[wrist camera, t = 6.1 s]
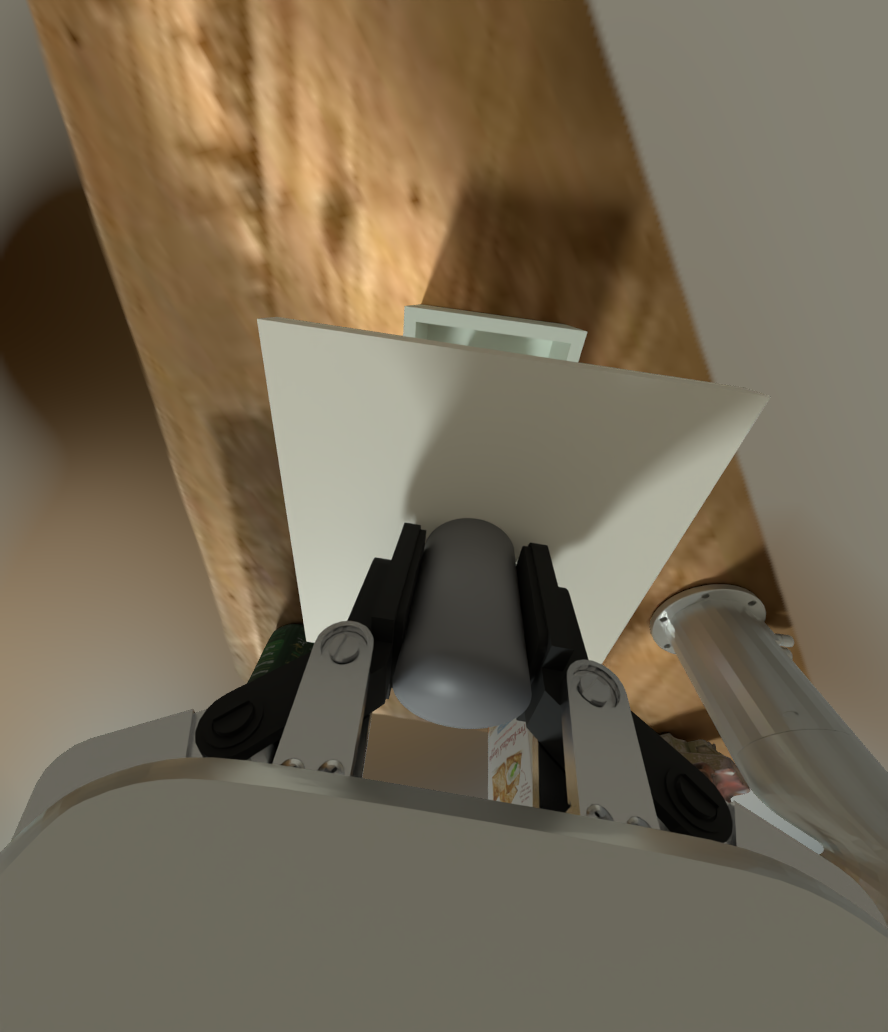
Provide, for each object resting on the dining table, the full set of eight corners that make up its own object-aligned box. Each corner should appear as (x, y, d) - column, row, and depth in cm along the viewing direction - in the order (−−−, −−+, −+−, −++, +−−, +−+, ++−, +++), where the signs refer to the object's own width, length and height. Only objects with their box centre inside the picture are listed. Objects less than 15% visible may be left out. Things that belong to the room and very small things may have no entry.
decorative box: (585, 731, 61) (601, 797, 53) (709, 707, 54) (749, 779, 46) (611, 763, 67) (629, 828, 58) (727, 745, 59) (766, 816, 51)
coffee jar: (266, 629, 54) (178, 764, 38) (302, 615, 51) (224, 754, 36) (307, 664, 58) (243, 798, 42) (342, 653, 55) (288, 792, 40)
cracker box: (520, 673, 54) (538, 855, 36) (554, 683, 54) (589, 867, 37) (485, 714, 61) (485, 881, 44) (515, 723, 62) (528, 891, 44)
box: (565, 324, 28) (587, 331, 22) (528, 459, 34) (538, 492, 29) (420, 304, 28) (404, 306, 22) (411, 442, 35) (397, 471, 29)
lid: (745, 387, 9) (1056, 493, 4) (581, 667, 16) (624, 832, 11) (277, 317, 9) (42, 337, 4) (315, 624, 17) (242, 766, 12)
